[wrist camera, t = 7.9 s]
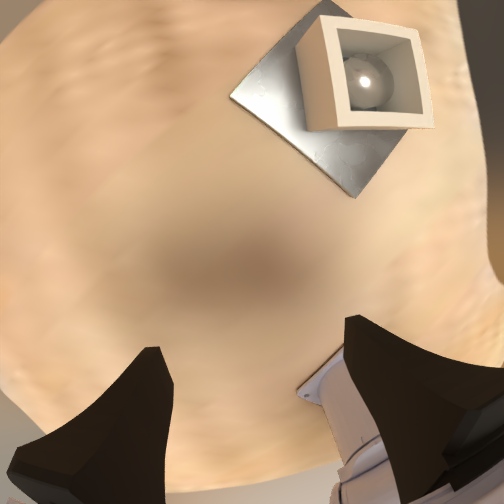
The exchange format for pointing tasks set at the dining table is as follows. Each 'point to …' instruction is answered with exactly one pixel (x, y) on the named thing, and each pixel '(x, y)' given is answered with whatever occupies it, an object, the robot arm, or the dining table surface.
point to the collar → (334, 80)
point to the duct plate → (293, 112)
